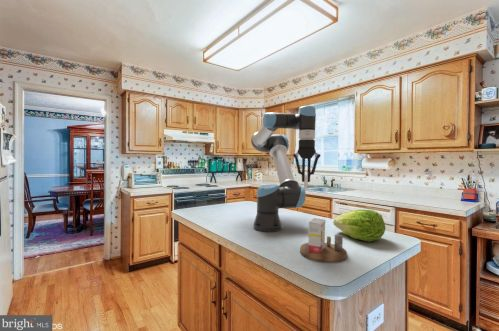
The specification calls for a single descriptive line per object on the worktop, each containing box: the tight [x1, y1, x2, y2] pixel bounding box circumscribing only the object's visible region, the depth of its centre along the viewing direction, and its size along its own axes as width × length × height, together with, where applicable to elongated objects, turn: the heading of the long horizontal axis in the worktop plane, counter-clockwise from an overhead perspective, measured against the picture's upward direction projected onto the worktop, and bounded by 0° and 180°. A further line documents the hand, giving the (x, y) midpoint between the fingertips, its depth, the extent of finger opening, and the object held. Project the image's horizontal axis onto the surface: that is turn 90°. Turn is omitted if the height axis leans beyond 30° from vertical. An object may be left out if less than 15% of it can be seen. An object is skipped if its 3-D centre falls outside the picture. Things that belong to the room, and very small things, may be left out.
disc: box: [299, 234, 348, 264], centre depth 102 cm, size 18×18×8 cm
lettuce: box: [332, 209, 386, 243], centre depth 123 cm, size 17×24×14 cm
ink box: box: [307, 217, 326, 254], centre depth 102 cm, size 9×5×12 cm, turn 151°
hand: (305, 188), depth 121 cm, fingers closed
